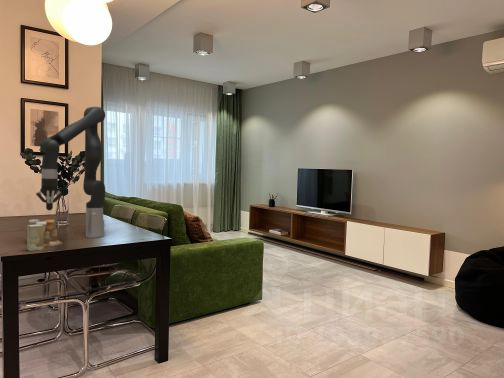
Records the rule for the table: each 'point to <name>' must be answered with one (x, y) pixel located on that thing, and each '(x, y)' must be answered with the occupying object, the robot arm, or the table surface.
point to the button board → (50, 238)
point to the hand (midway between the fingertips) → (49, 210)
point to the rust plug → (49, 224)
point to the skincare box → (35, 237)
